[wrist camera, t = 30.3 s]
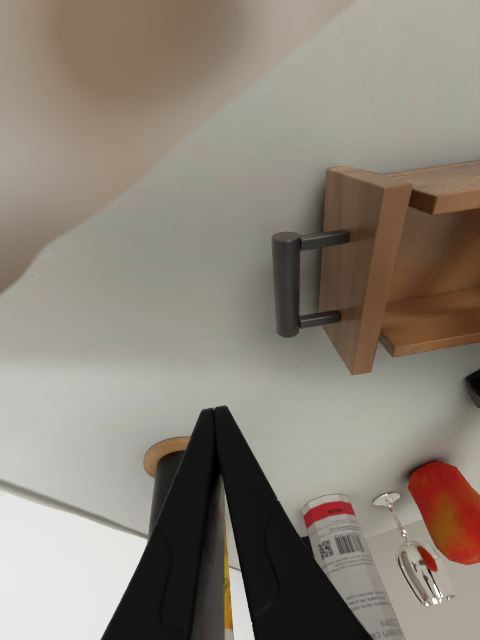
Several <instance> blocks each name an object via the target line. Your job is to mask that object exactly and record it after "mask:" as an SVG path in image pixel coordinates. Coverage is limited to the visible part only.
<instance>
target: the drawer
mask: <svg viewBox="0 0 480 640" xmlns="http://www.w3.org/2000/svg"><path fill="white" fill-rule="evenodd" d="M315 248H322V261H321V279H320V296H319V313H314V314H308V315H302V316H299V298H300V250H301V251H303V250H309V249H315ZM272 257H273V276H274V295H275V314H276V332H277V333H278V335H280V336H282V337H285V338H290V337H294V336H296V335H297V334H298V333H299V327H300V329H302V328H308V327H314V326H319V325H321V326H322V328H323V329H324V331H325V332H326V334H327V336H328V337H329V339H330V340H331V342H332V344H333V345H334V347H335V349H336V350H337V352H338V353H339V355H340V357H341V358H342V360H343V361H344V363H345V365H346V366H347V368H348V369H349V371H350V373H351V374H352V375H357V374H363V373H368V372H371V370H372V365H373V361H374V356H375V352H376V347H377V343H378V340H379V341H380V343H381V344H382V345H383V346H384V347H385V349H386V350H387V351H388V352H389V353H390V354H391V356H392V357H398V356H404V355H410V354H415V353H421V352H426V351H432V350H438V349H443V348H449V347H454V346H460V345H466V344H471V343H477V342H480V160H477V161H471V162H464V163H458V164H451V165H445V166H438V167H432V168H426V169H419V170H413V171H406V172H400V173H393V174H387V175H380V174H376V173H373V172H369V171H365V170H361V169H358V168H354V167H350V166H341V167H335V168H328V169H327V174H326V192H325V209H324V226H323V232H322V233H316V234H310V235H304V236H300V235H299V234H298V233H295V232H281V233H277V234H275V235H273V236H272Z"/></svg>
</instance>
